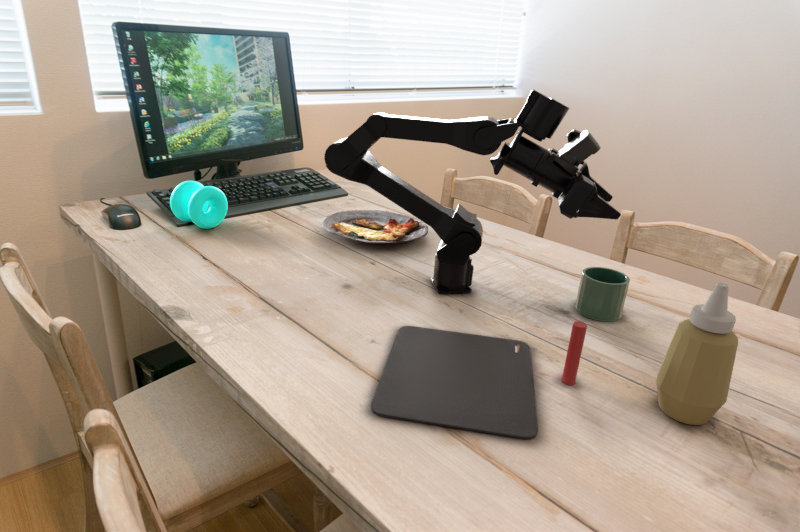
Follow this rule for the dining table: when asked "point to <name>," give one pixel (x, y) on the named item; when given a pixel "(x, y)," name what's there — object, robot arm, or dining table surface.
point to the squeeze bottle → (699, 362)
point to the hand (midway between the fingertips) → (615, 207)
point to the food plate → (375, 226)
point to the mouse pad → (459, 382)
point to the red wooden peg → (574, 352)
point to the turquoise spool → (199, 204)
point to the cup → (602, 293)
